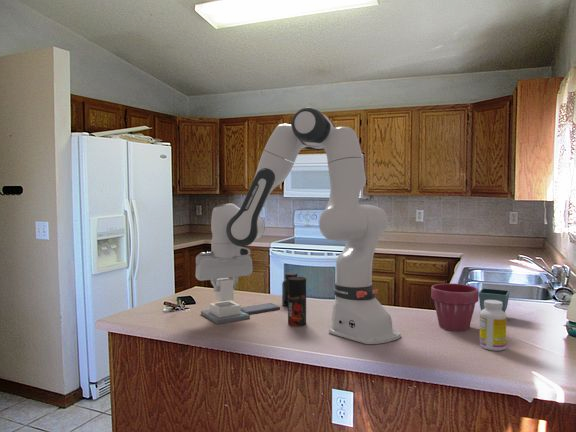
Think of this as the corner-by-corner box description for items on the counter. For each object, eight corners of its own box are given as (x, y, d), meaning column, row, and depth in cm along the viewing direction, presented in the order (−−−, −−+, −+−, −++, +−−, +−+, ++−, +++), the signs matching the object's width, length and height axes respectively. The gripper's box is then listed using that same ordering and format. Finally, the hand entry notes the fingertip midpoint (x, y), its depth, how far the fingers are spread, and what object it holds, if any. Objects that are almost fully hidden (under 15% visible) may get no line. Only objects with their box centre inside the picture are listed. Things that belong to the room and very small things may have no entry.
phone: (270, 305, 173) (270, 302, 173) (280, 309, 167) (280, 306, 167) (237, 310, 165) (237, 307, 165) (246, 314, 160) (246, 312, 159)
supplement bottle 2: (509, 347, 127) (510, 301, 126) (501, 353, 122) (502, 305, 121) (484, 341, 131) (485, 297, 130) (475, 347, 126) (476, 301, 125)
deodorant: (309, 322, 150) (309, 277, 149) (300, 327, 145) (300, 280, 144) (293, 320, 153) (293, 276, 152) (284, 324, 148) (284, 279, 147)
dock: (249, 318, 155) (249, 306, 155) (217, 324, 149) (217, 311, 148) (231, 309, 167) (231, 298, 167) (200, 314, 160) (200, 302, 160)
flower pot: (481, 312, 163) (482, 287, 162) (509, 316, 158) (509, 290, 158) (477, 318, 155) (478, 292, 154) (506, 322, 150) (507, 295, 150)
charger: (233, 299, 157) (233, 279, 157) (221, 301, 155) (221, 281, 154) (227, 297, 161) (227, 277, 160) (216, 298, 158) (215, 279, 158)
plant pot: (421, 323, 150) (422, 284, 149) (456, 319, 154) (457, 281, 154) (450, 336, 136) (451, 293, 135) (488, 331, 141) (489, 290, 140)
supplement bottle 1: (298, 307, 170) (298, 275, 169) (280, 306, 171) (280, 274, 170) (301, 303, 176) (301, 272, 176) (284, 302, 178) (284, 271, 177)
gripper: (199, 254, 148) (199, 296, 149) (254, 249, 159) (254, 288, 160) (192, 251, 154) (192, 292, 154) (246, 247, 165) (246, 285, 166)
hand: (224, 290), depth 157 cm, fingers closed on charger, 4 cm apart
